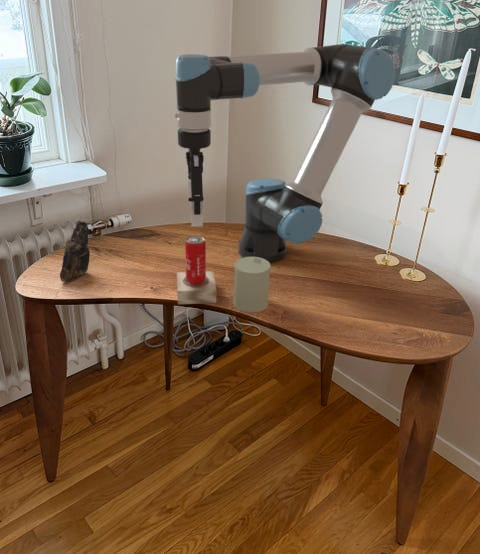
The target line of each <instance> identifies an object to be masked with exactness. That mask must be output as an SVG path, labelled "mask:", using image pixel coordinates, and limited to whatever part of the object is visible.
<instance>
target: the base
mask: <svg viewBox="0 0 480 554" xmlns="http://www.w3.org/2000/svg"><path fill="white" fill-rule="evenodd" d="M176 290H177V305H193V304H194V305H195V304H197V305H198V304H216V303H217V285H216V279H215V273H214V271H208V270H206V278H205V280H204V283H202V284H200V285H192V284H190V283H188V280H187V279H186V271H182V272H180V271H179V272H178V271H177V272H176Z"/></svg>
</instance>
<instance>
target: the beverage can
mask: <svg viewBox="0 0 480 554" xmlns="http://www.w3.org/2000/svg"><path fill="white" fill-rule="evenodd" d="M185 240H186V241H185V242H184V243H185V244H184V245H185V250H184V251H185V252H184V253H185V272H186V279H187V280H188V283H190V284H192V285H200V284H202V283H204V280H205V278H206V271H207V267H206V266H207V263H206V262H207V261H206V259H207V257H206V254H207V247H206V246H207V242H206V239H205V237H202V236H199V235H191V236H188V237H187V238H186V239H185Z"/></svg>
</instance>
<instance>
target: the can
mask: <svg viewBox="0 0 480 554" xmlns="http://www.w3.org/2000/svg"><path fill="white" fill-rule="evenodd" d="M270 274H271V262H268V261H267V260H265V259H263V258H259V257H241V258H238V259H237V260H236V261H235V262H234V290H233V291H234V293H233V306H234V308H235V309H237V311H240V312H244V313H247V314H248V313H249V314H256V313H260V312H264V311H265V310H266V309H267V308H268V307H269V293H270V292H269V288H270V276H271V275H270Z"/></svg>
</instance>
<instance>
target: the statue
mask: <svg viewBox="0 0 480 554" xmlns="http://www.w3.org/2000/svg"><path fill="white" fill-rule="evenodd" d="M75 224H76V225H75V227H74V228H73V231H72V234H71V237H70V242H71V244H70V245H67V246H66V247H65V250H64V254H63V257H62V264H61V270H60V273H59V279H60V280H61V282H62V283H68V282H72V281H74V280H76V279H78V278H80V277H82V276H83V275H85V274H86V273H87V272H88V268H89V264H90V257H91V256H90V255H91V254H90V253H91V252H90V248H89V247H88V243H89V231H88V223H87V221H83V220H82V221H81V220H77V221H76V223H75Z"/></svg>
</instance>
